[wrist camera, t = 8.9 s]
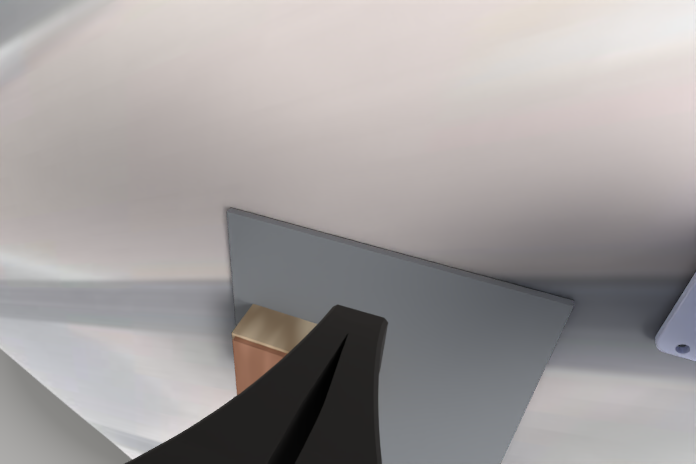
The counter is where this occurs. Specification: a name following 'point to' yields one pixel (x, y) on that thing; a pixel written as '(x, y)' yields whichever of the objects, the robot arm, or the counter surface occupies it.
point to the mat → (411, 334)
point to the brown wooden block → (264, 342)
